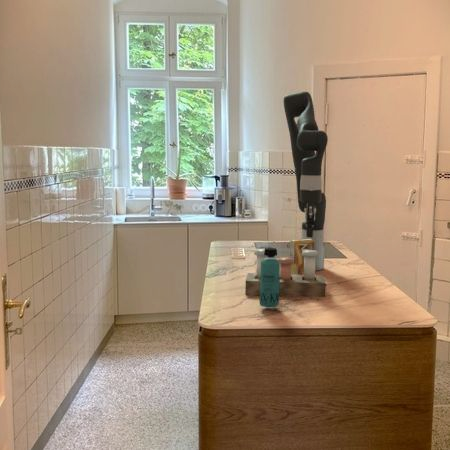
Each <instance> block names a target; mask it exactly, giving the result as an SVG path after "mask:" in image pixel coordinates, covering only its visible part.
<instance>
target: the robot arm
mask: <svg viewBox="0 0 450 450" xmlns="http://www.w3.org/2000/svg"><path fill="white" fill-rule="evenodd" d="M283 108H284V113H285V117H286V123H287V128H288V132H289V139H290V145H291V147H290V148H291V153H292V155H291V156H292V162H293V167H294V172H295V179H296V190H297V191H296V193H297V203H298V208H299V210H300V211H301V212H302V213H304V219H305V221H303V222H302V223H301V239H312V240H314V250H315V251H318V256H317V257H315V271H321V270H323V269H325V249H326V248H325V246H324V227H325V221H326V208H327V197H326V195H325V193H324V192H323V190H322V189H323V188H322V187H323V186H322V185H323V180H322V168H323V166H322V165H323V158H324V155H325V152H326V148H327V146H328V139H329V138H328V134H327V133H326V131H323V130H319V126H318V123H317V120H316V118H315V117H316V116H315V108H314V102H313V98H312V95H311V93H310V92H308V91H300V92H294V93H289V94H286V95H284V97H283ZM295 118H297V121H296V120H295Z"/></svg>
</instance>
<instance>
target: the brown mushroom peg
mask: <svg viewBox="0 0 450 450" xmlns="http://www.w3.org/2000/svg"><path fill="white" fill-rule="evenodd" d="M277 260H278V261H279V262H280V280H291V264H293V263H294V259H293V258H290V256H289V257H287V256H285V257H282V256H281V257H277Z"/></svg>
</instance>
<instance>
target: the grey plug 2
mask: <svg viewBox="0 0 450 450" xmlns="http://www.w3.org/2000/svg"><path fill="white" fill-rule="evenodd" d="M302 256H304V280H313V281H315V275H316V270H315V257H317V256H318V251H315V250H303V251H302Z"/></svg>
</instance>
